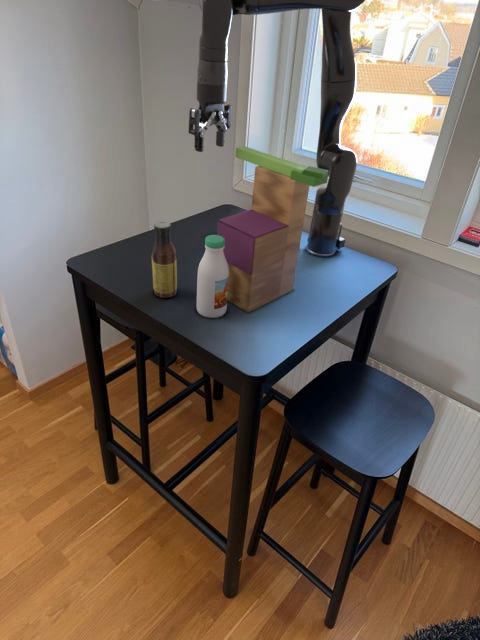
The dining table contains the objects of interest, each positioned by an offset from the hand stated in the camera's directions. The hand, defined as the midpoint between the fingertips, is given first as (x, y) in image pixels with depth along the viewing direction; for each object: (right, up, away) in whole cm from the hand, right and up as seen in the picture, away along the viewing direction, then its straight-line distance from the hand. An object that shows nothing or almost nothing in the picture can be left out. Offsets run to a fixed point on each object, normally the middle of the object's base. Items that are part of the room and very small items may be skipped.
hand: (209, 148), depth 124 cm
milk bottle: (+1, -43, -5) cm, 43 cm away
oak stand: (+12, -38, +5) cm, 40 cm away
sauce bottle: (-12, -39, 0) cm, 40 cm away
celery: (+18, -8, -9) cm, 21 cm away
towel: (+10, -30, -4) cm, 32 cm away
